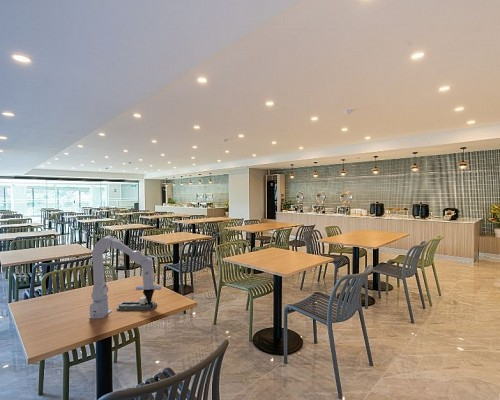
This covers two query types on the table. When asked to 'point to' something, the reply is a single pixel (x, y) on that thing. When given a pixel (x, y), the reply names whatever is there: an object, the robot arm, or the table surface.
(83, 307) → the table surface
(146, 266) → the robot arm
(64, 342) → the table surface
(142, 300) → the fader knob
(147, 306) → the console
